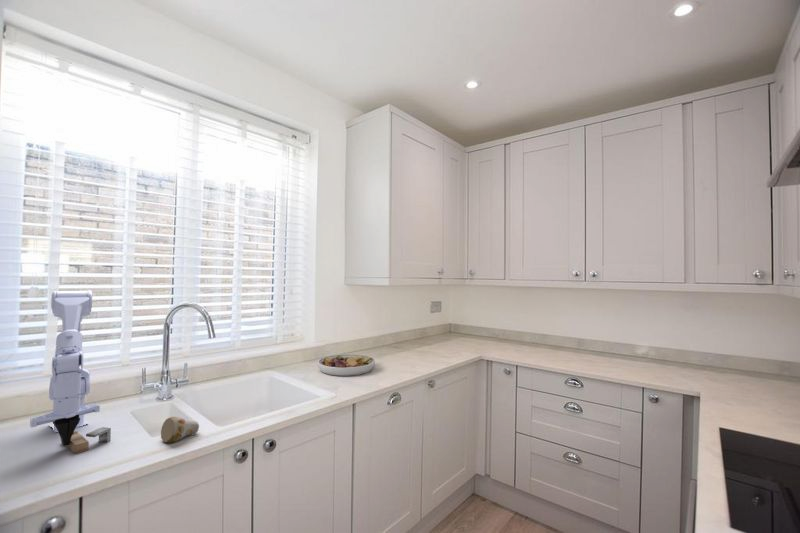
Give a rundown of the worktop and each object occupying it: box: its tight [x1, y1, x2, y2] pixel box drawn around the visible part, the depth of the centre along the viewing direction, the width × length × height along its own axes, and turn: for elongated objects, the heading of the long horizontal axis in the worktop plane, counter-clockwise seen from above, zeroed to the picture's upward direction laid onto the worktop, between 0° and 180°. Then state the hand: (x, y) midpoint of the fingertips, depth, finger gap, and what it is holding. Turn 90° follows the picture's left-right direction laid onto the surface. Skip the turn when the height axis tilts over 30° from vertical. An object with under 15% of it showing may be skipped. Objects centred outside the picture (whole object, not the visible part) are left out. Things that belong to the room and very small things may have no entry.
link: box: [66, 429, 90, 455], centre depth 106 cm, size 12×3×3 cm, turn 54°
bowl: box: [317, 354, 376, 377], centre depth 195 cm, size 30×30×8 cm
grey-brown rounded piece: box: [160, 416, 200, 443], centre depth 112 cm, size 8×10×10 cm
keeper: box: [85, 426, 112, 443], centre depth 108 cm, size 3×5×4 cm, turn 169°
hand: (65, 444), depth 104 cm, fingers closed
